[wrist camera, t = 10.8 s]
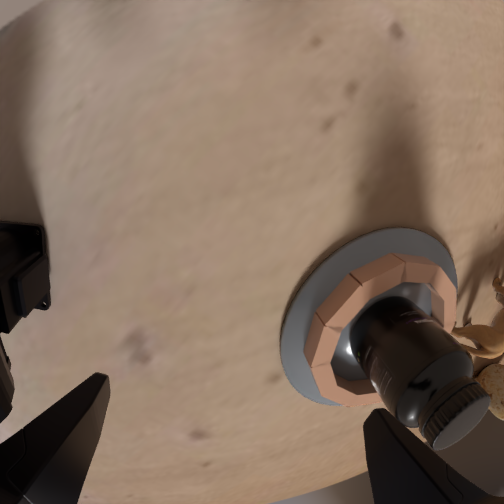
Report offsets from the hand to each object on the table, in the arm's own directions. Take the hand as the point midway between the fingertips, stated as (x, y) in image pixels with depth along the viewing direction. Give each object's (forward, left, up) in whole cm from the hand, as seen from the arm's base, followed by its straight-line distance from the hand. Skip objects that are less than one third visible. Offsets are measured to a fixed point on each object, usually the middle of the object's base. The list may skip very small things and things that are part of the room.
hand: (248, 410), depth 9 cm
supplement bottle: (+14, -4, -12) cm, 19 cm away
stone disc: (+39, -14, -13) cm, 43 cm away
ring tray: (+14, -5, -13) cm, 20 cm away
